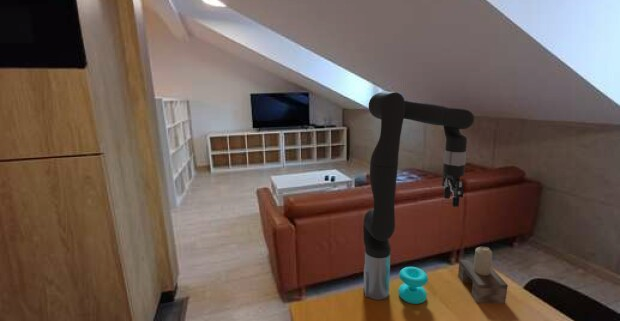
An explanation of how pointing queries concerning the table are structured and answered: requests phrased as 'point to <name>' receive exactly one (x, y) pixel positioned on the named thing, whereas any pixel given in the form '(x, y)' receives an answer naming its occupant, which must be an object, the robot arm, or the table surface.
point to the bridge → (483, 283)
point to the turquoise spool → (413, 285)
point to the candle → (482, 260)
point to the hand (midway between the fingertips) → (450, 202)
